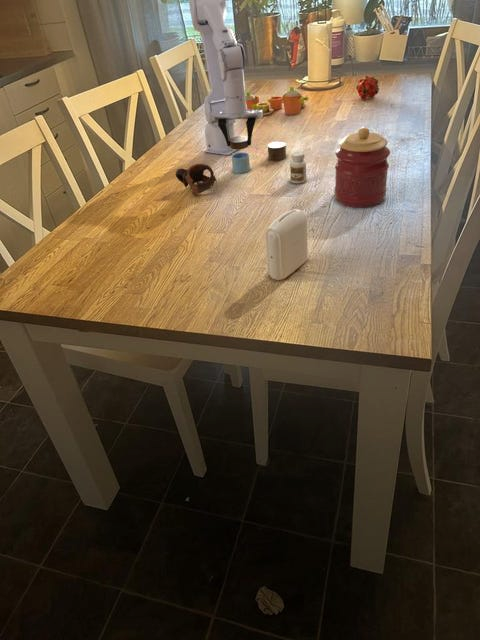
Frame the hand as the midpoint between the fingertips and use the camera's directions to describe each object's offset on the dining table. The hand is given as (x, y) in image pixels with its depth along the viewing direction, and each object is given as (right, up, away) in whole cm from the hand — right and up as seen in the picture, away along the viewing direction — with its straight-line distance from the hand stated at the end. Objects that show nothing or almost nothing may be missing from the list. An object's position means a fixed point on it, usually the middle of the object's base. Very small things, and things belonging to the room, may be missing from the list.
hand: (239, 144), depth 146 cm
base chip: (+12, 0, +10) cm, 16 cm away
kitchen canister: (+31, -20, -18) cm, 41 cm away
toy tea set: (+14, +32, +52) cm, 62 cm away
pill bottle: (+17, -12, -5) cm, 22 cm away
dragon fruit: (+52, +38, +55) cm, 85 cm away
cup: (+1, -6, +5) cm, 8 cm away
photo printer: (+10, -41, -42) cm, 59 cm away
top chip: (0, 0, 0) cm, 0 cm away
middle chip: (+12, +1, +9) cm, 15 cm away
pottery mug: (-12, -15, -4) cm, 19 cm away
